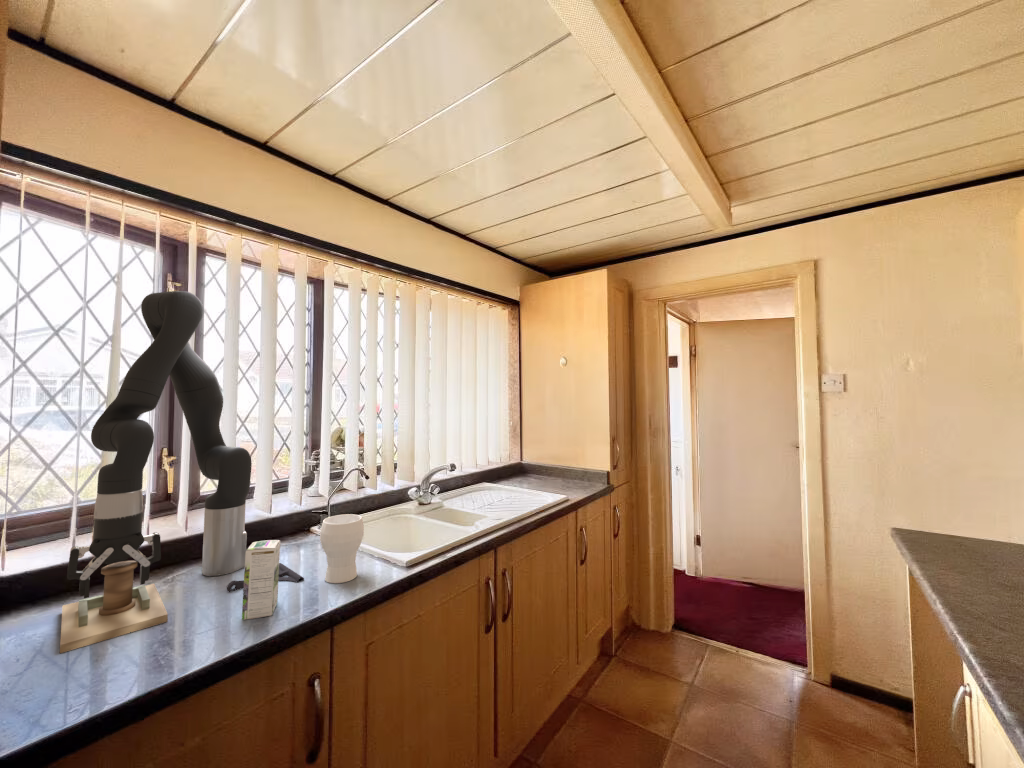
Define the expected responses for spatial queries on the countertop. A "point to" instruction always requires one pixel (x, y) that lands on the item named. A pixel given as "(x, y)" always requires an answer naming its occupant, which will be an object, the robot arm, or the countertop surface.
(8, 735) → the countertop surface
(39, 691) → the countertop surface
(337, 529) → the cup
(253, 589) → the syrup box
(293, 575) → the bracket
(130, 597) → the wooden bobbin
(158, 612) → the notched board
